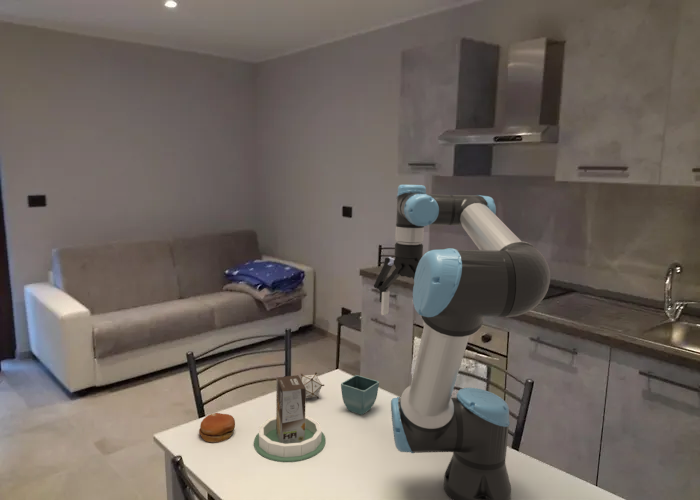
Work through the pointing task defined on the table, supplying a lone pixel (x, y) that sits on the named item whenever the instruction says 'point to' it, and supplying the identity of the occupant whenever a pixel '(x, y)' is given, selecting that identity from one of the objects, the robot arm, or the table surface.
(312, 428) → the round green tray
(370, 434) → the table surface
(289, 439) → the coffee box
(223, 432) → the burger
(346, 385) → the flower pot
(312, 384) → the game die
